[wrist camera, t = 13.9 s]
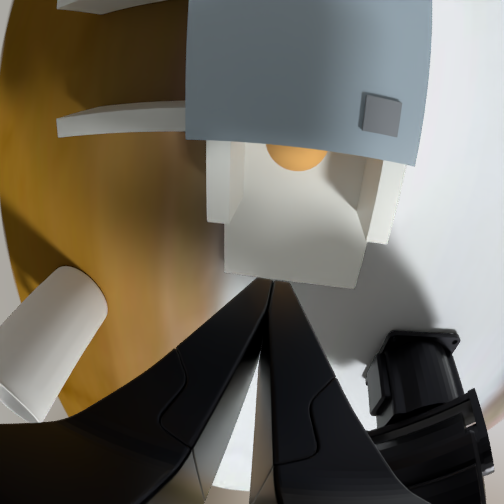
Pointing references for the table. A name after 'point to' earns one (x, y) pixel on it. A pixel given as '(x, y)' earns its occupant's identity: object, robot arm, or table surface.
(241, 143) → the white open box
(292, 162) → the orange rounded block
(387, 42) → the cover
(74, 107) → the table surface
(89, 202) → the table surface
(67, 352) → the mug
